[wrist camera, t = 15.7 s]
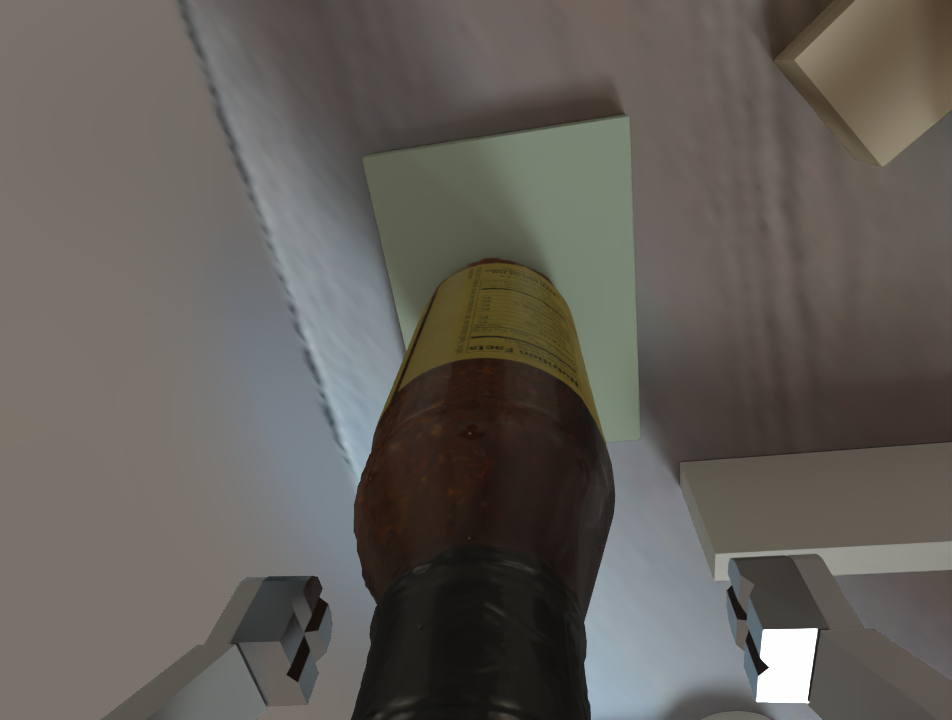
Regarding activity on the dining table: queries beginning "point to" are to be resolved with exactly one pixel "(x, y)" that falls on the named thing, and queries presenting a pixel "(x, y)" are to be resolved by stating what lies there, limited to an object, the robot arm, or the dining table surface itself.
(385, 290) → the dining table surface
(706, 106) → the dining table surface
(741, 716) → the white hole rack
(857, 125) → the offcut lower
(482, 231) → the green mat
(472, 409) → the sauce bottle
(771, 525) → the rail
